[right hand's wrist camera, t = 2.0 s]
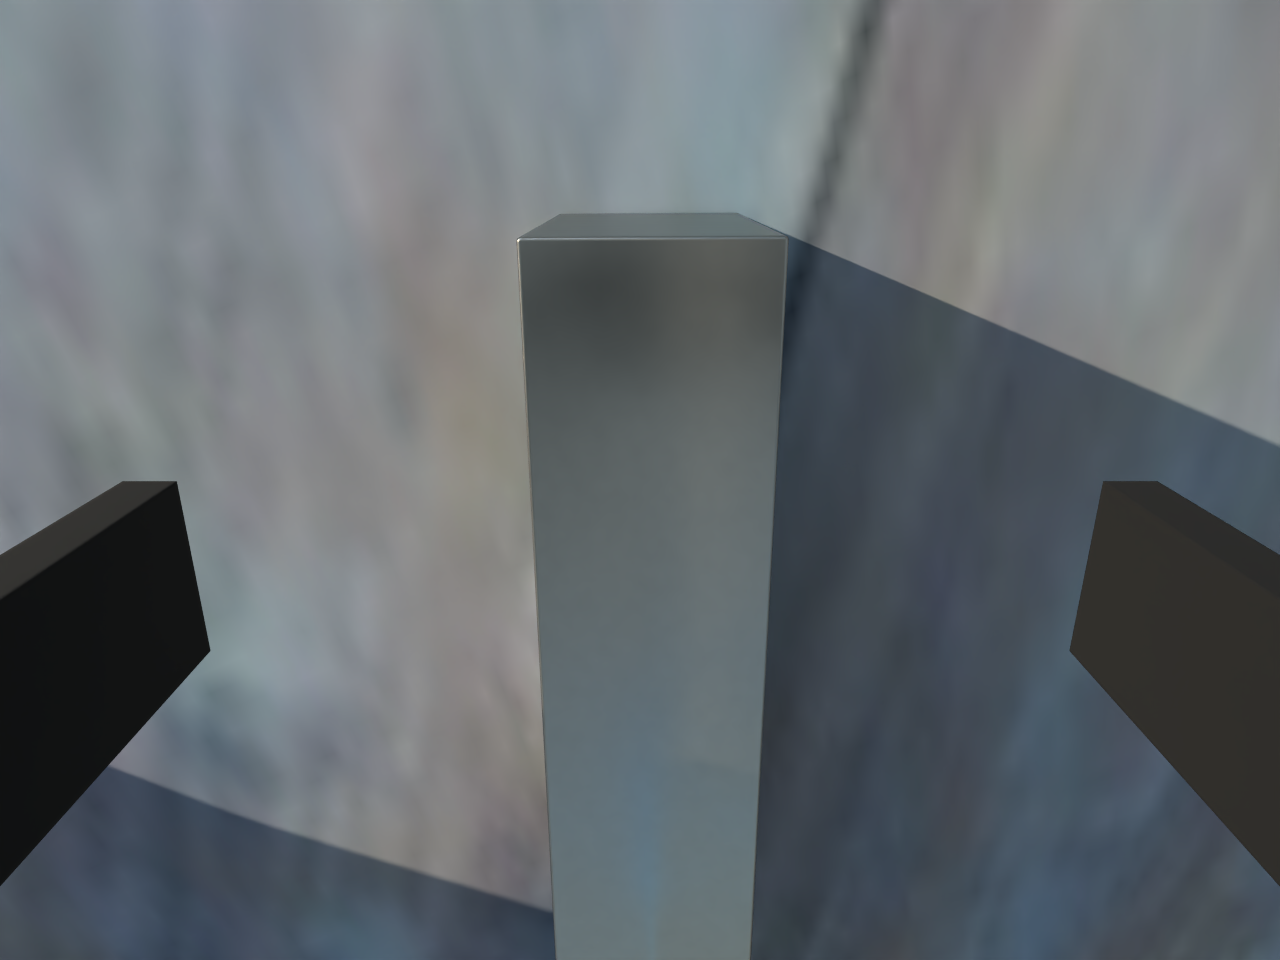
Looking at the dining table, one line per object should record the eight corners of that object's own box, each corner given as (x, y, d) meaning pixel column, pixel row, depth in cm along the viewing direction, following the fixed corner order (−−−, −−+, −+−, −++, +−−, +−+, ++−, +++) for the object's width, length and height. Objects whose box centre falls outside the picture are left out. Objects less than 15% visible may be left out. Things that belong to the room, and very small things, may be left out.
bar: (558, 213, 23) (516, 237, 15) (739, 212, 23) (789, 235, 15) (592, 1117, 35) (577, 1384, 27) (709, 1117, 35) (729, 1384, 27)
